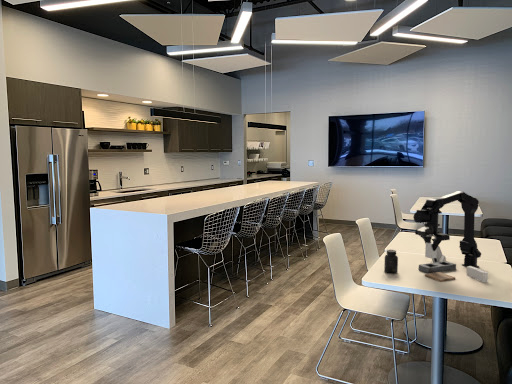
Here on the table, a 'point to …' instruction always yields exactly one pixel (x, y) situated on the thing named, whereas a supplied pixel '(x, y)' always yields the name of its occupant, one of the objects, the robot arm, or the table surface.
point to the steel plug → (430, 250)
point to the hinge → (439, 256)
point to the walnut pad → (440, 276)
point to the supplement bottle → (391, 262)
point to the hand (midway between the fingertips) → (431, 250)
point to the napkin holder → (477, 274)
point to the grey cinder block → (437, 267)
